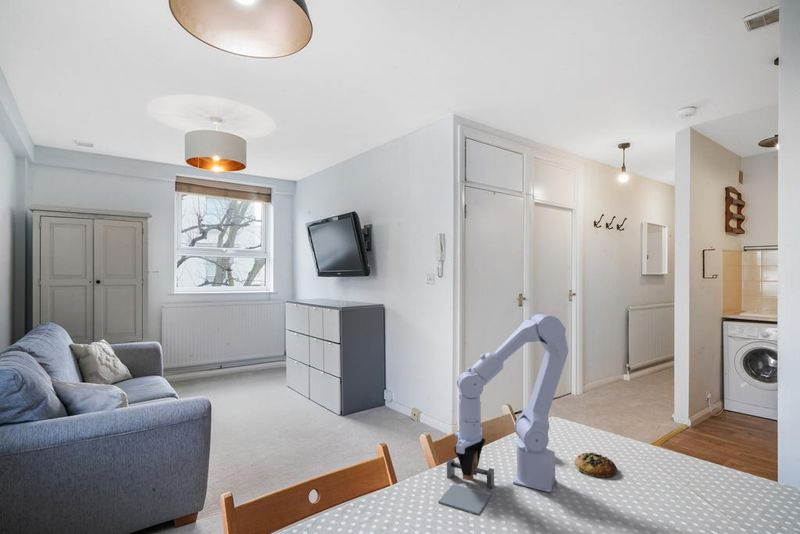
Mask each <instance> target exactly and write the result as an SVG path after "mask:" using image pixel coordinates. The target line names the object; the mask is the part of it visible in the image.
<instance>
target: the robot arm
mask: <svg viewBox="0 0 800 534" xmlns="http://www.w3.org/2000/svg"><path fill="white" fill-rule="evenodd" d="M566 330H567V329H566V327H565V326H564V324H563V323H562V321H561V320H560V319H559V318H558V317H557V316H554V315H548V314H545V313H543V312H534V313H533V314H531V315H530V316H529V317H528V318H526V319H525V320H524V321H522V323H520V325H519V326H518V327H517V328H516V329H515V331H513V333H511V334H510V336H508V338H507V339H506V340H505V341H504V342H503V343H502V344H500V346H499V347H498V348H497V349H496V350H495V351H490V352H489V351H488V352H486V353H485V354H484V353H481V354H480V355H479V358H480V359H479V360H477V361H476V362H475V363H474V364H473V365H472V366H469V367H468V368H466V371H464V372H461V374H460V375H459V376H458V378H457V380H456V385H457V387H458V389H459V391H458V392H459V394H458V398H459V400H458V431H456V432H455V433H454V436H455V437H456V438H457V444H455V446H454V447H453V451H454V453H455V455H456V456H457V459H458V463H459V464H460V466H461V469H460V470H461V473H462V476H463V475H467V476H471V473H472V466H473V460H474V456H475V454H476V452H477V461H478V463H477V465H478V466H479V463H480V458H481V455H482V450H483V447H484V445H485V443H486V439H485V438H484V437H483V427H482V415H481V414H482V410H481V409H482V408H481V405H482V402H481V395H482V394H483V391H484V386H486V385H487V384H488V383H489V382H490V381H492V379H494V378H495V377H496V376H497V375H498V374H499V373H500V372H501V371H503V369H504V362H505V361H506V360H508V358H510V357H511V356H512V355H514V354H515V352H517V351H518V350H519V349H521V348H522V347H523V346H524V345H525V344H527V343H532V342H533V343H534V342H540V343H541V345H542V346H543V348H544V350H545V353H544V355H543V358H542V362H541V364H540V366H539V367H540V368H539V370H538V373H537V377H536V380H535V383H534V386H533V388H532V393H531V397H530V399H529V402H528V405H527V406H526V407H525V408H524V409H523V410H522V413H521V414H520V416H519V417H518V418H517V419H516V421H515V423H514V430H515V434H517V436H518V439H517V442H516V474H515V476H514V478H513V480H512V484H515V485H519V486H523V487H527V488H530V489H533V490H539V491H543V492H546V493H551V492H552V489H553V488H554V484H555V482H556V480H557V479H556V455H555V451H554V450H552V449H549V448H547V447H548V446H549V440H550V439H549V430H550V421H549V413H550V411H551V410H550V409H551V406H552V404H553V401H554V398H555V394H556V392H557V389H558V386H559V382H560V379H561V375H562V372H563V369H564V366H565V364H566V361H567V358H568V354H569V346H568V342H567V337H566Z"/></svg>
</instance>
